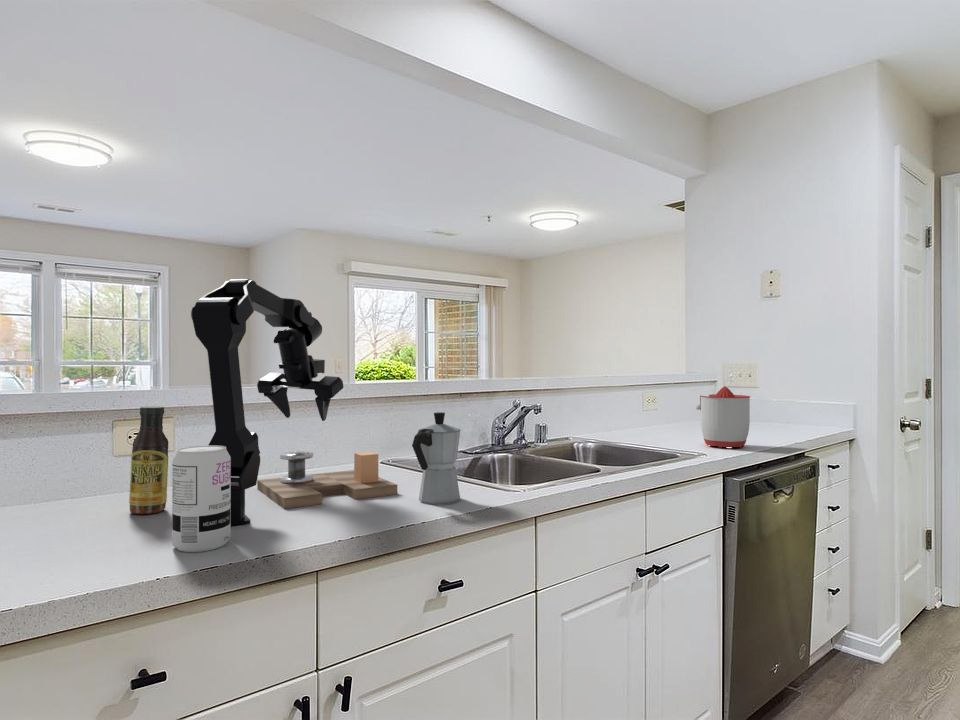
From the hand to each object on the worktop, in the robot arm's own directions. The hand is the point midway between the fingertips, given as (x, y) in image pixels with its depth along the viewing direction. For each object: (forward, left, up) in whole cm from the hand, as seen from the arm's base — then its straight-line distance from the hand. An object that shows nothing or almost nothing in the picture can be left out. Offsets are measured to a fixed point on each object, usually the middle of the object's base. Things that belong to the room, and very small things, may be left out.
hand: (306, 418), depth 140 cm
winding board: (-9, -2, -15) cm, 18 cm away
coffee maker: (-30, -18, -15) cm, 38 cm away
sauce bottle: (-8, +32, -15) cm, 37 cm away
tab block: (-12, -10, -13) cm, 20 cm away
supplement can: (-36, +27, -15) cm, 48 cm away
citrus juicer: (-12, -136, -15) cm, 137 cm away
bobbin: (-4, +3, -13) cm, 14 cm away
